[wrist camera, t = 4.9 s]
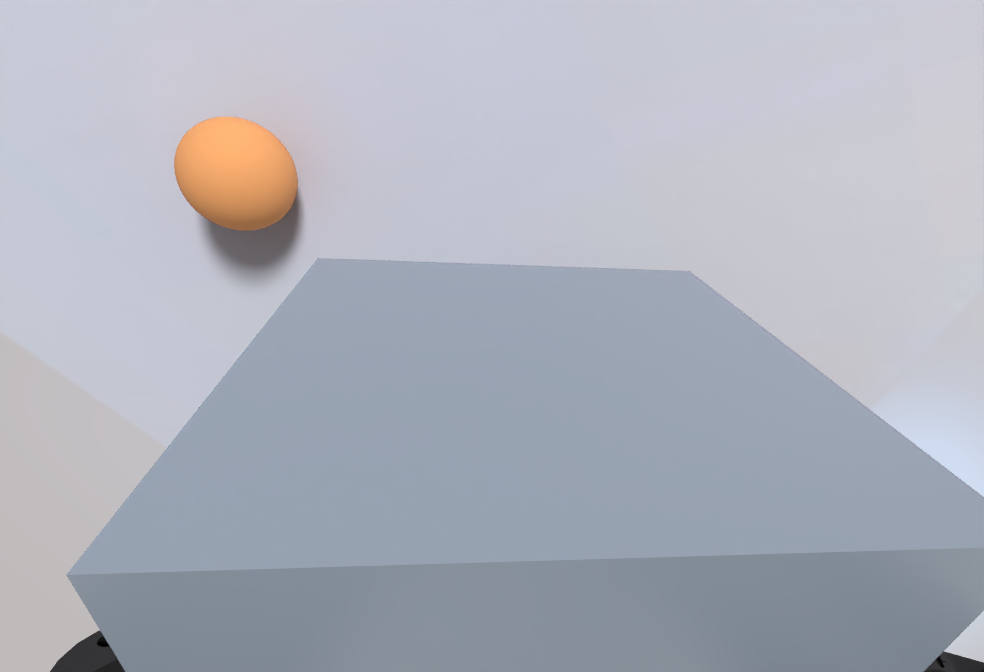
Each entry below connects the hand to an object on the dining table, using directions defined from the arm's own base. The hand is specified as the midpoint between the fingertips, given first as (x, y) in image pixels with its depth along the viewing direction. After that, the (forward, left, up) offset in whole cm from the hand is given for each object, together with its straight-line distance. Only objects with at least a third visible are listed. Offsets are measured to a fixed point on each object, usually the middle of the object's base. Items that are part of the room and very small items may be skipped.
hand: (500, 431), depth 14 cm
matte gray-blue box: (0, 0, -1) cm, 1 cm away
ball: (+6, +11, -12) cm, 17 cm away
